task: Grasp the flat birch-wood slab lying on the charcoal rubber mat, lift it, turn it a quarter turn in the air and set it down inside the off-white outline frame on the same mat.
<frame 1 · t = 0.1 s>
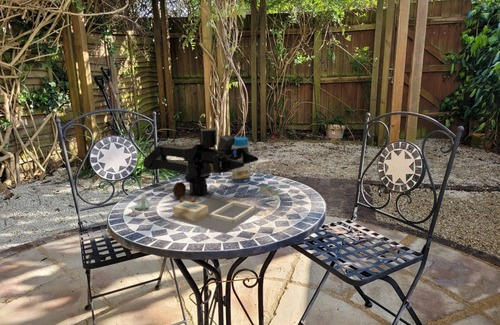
hand: (251, 161, 120), 17 cm above the table, tool horizontal, fingers open, 9 cm apart
compass: (188, 201, 131), on the table
slab: (191, 216, 115), point 1 cm above the table, touching mat
mat: (216, 214, 117), on the table
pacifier: (141, 210, 123), on the table
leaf: (269, 197, 134), on the table
beverage bottle: (241, 182, 152), on the table
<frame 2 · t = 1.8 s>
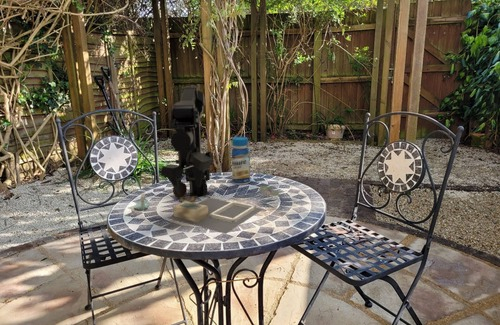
hand: (189, 190, 113), 9 cm above the table, tool pointing down, fingers open, 9 cm apart
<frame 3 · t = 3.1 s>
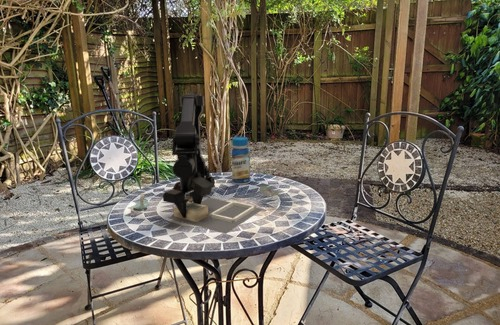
hand: (191, 214, 115), 1 cm above the table, tool pointing down, fingers closed on slab, 6 cm apart
slab: (191, 216, 115), point 1 cm above the table, touching gripper, mat
everything else where it was.
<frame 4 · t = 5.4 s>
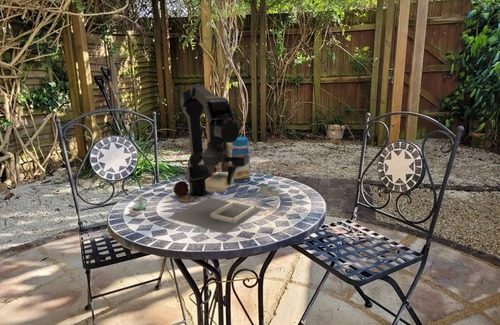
hand: (220, 184, 113), 11 cm above the table, tool pointing down, fingers closed on slab, 6 cm apart
compass: (188, 201, 131), on the table, touching arm
slab: (220, 186, 113), point 11 cm above the table, touching gripper
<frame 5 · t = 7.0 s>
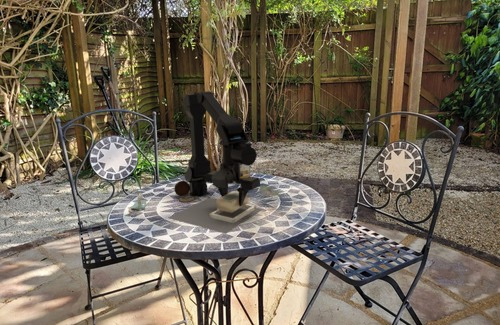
hand: (233, 204, 116), 4 cm above the table, tool pointing down, fingers closed on slab, 6 cm apart
compass: (188, 200, 132), on the table
slab: (232, 206, 116), point 3 cm above the table, touching gripper
when the fingers open (3 cm above the table, at t = 8.1 s): slab drops 2 cm, resting on mat.
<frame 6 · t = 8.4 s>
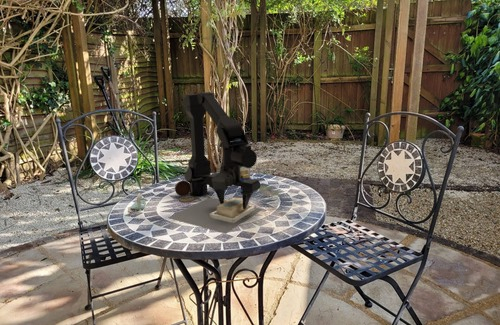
hand: (233, 206, 116), 3 cm above the table, tool pointing down, fingers open, 9 cm apart
compass: (188, 200, 132), on the table, touching arm
slab: (233, 213, 116), point 1 cm above the table, touching mat
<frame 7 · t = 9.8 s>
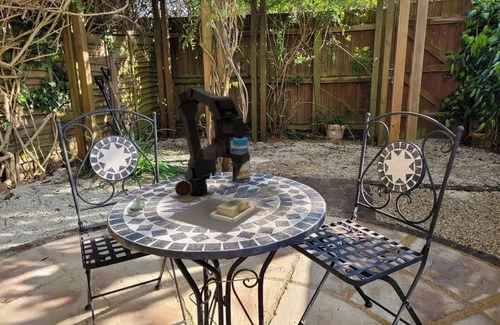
hand: (223, 178, 120), 11 cm above the table, tool pointing down, fingers open, 9 cm apart
compass: (188, 200, 132), on the table
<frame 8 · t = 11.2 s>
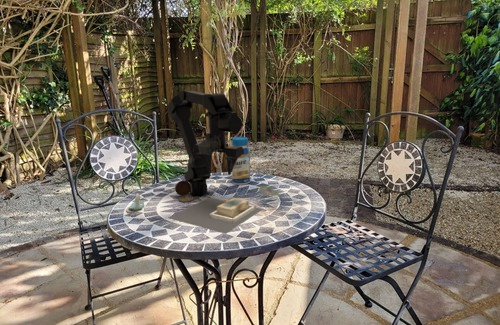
hand: (219, 172, 124), 12 cm above the table, tool pointing down, fingers open, 9 cm apart
compass: (188, 200, 132), on the table, touching arm
at the end: slab 0.1 cm from the target spot, point 0.6 cm above the table; slab tilted 0°; the gripper is holding nothing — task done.
